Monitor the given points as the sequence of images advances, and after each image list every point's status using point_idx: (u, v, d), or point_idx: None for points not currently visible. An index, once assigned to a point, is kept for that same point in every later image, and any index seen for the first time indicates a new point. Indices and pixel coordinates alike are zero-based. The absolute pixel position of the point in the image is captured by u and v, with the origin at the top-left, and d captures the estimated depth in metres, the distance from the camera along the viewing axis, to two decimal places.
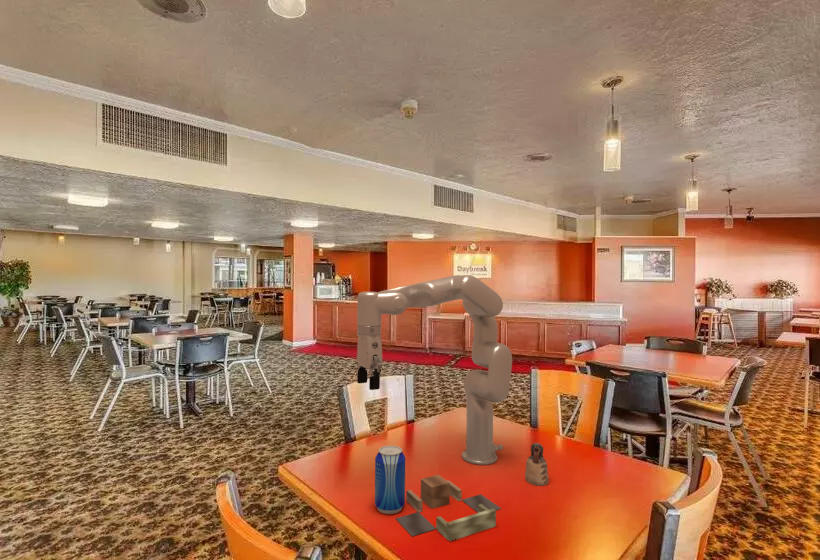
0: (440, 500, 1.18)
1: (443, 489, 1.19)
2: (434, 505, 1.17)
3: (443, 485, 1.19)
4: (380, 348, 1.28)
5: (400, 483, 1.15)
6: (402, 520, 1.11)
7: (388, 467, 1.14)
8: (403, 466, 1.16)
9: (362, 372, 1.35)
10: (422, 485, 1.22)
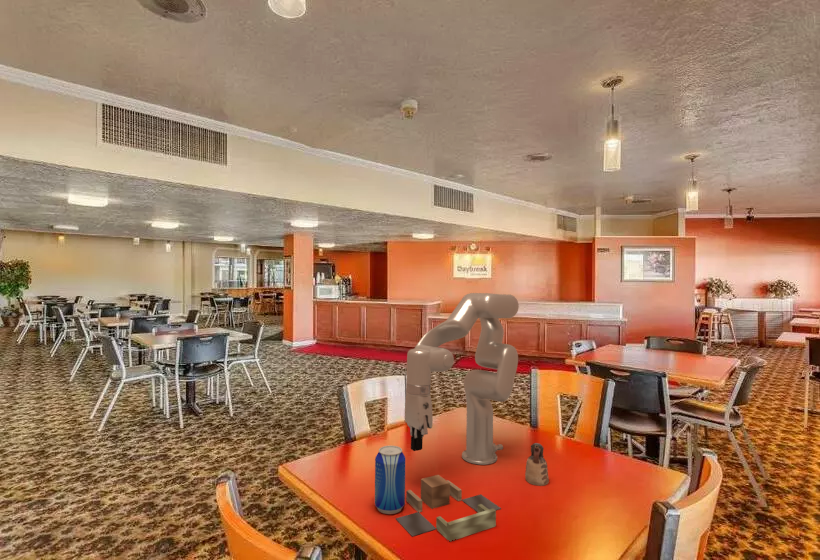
0: (440, 500, 1.18)
1: (443, 489, 1.19)
2: (434, 505, 1.17)
3: (443, 485, 1.19)
4: (430, 408, 1.27)
5: (400, 483, 1.15)
6: (402, 520, 1.11)
7: (388, 467, 1.14)
8: (403, 466, 1.16)
9: None
10: (422, 485, 1.22)
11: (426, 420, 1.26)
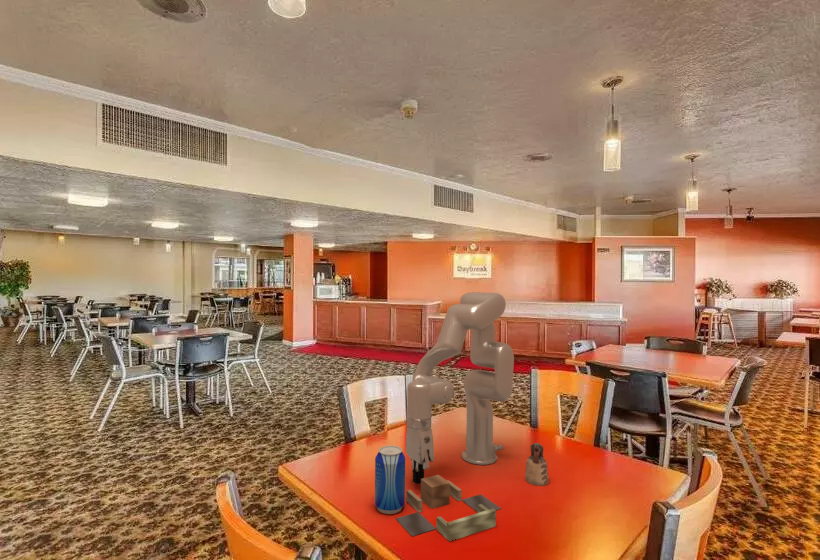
0: (440, 500, 1.18)
1: (443, 489, 1.19)
2: (434, 505, 1.17)
3: (443, 485, 1.19)
4: (432, 442, 1.26)
5: (400, 483, 1.15)
6: (402, 520, 1.11)
7: (388, 467, 1.14)
8: (403, 466, 1.16)
9: None
10: (422, 485, 1.22)
11: (427, 454, 1.26)
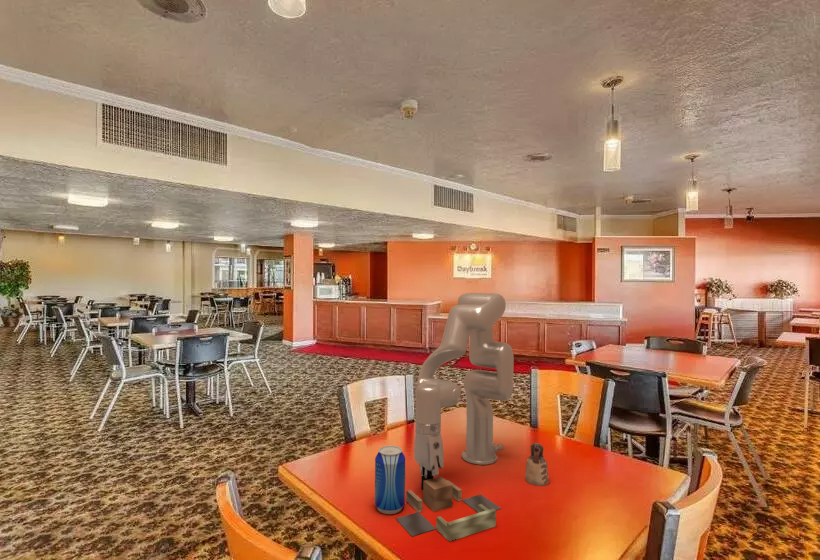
0: (442, 502, 1.17)
1: (446, 491, 1.18)
2: (437, 507, 1.16)
3: (446, 487, 1.18)
4: (441, 448, 1.22)
5: (400, 483, 1.15)
6: (402, 520, 1.11)
7: (388, 467, 1.14)
8: (403, 466, 1.16)
9: None
10: (424, 487, 1.20)
11: (437, 460, 1.21)
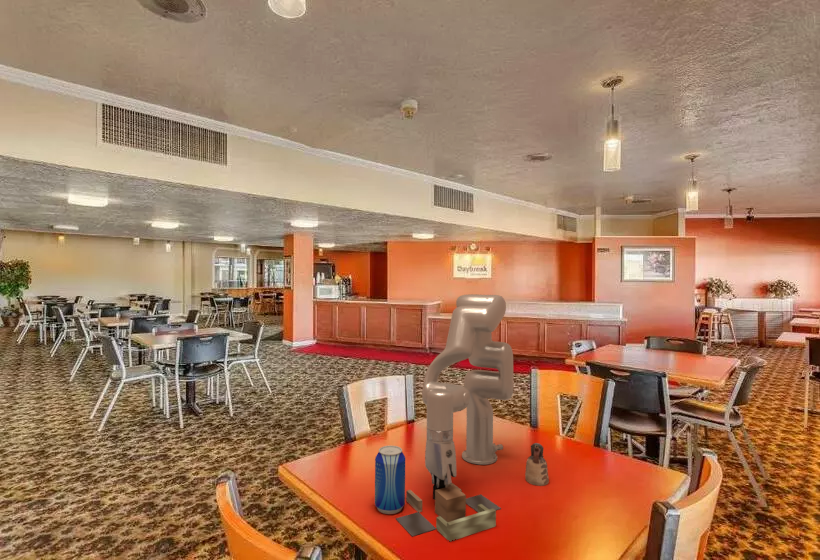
0: (455, 513, 1.11)
1: (459, 501, 1.12)
2: (449, 519, 1.10)
3: (459, 497, 1.12)
4: (454, 456, 1.16)
5: (400, 483, 1.15)
6: (402, 520, 1.11)
7: (388, 467, 1.14)
8: (403, 466, 1.16)
9: None
10: (436, 497, 1.15)
11: (449, 469, 1.16)
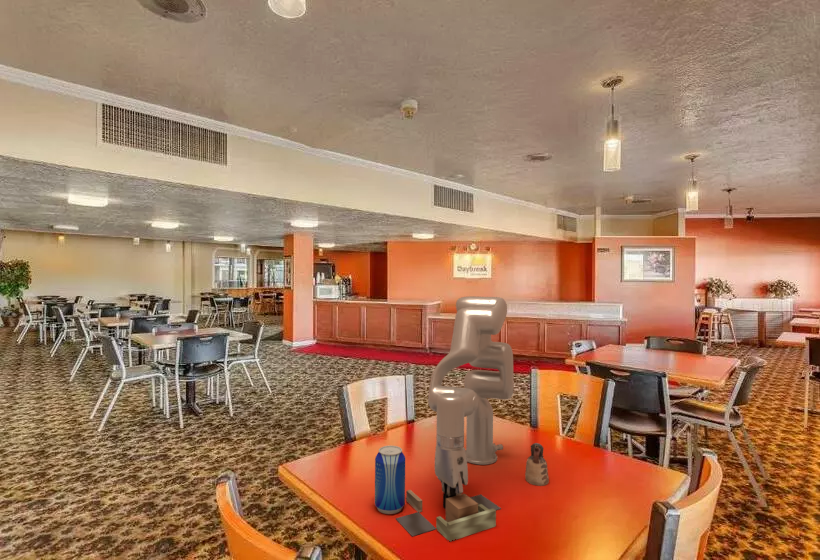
0: None
1: (471, 510, 1.07)
2: None
3: (471, 506, 1.07)
4: (465, 463, 1.12)
5: (400, 483, 1.15)
6: (402, 520, 1.11)
7: (388, 467, 1.14)
8: (403, 466, 1.16)
9: None
10: (447, 506, 1.10)
11: (461, 476, 1.11)
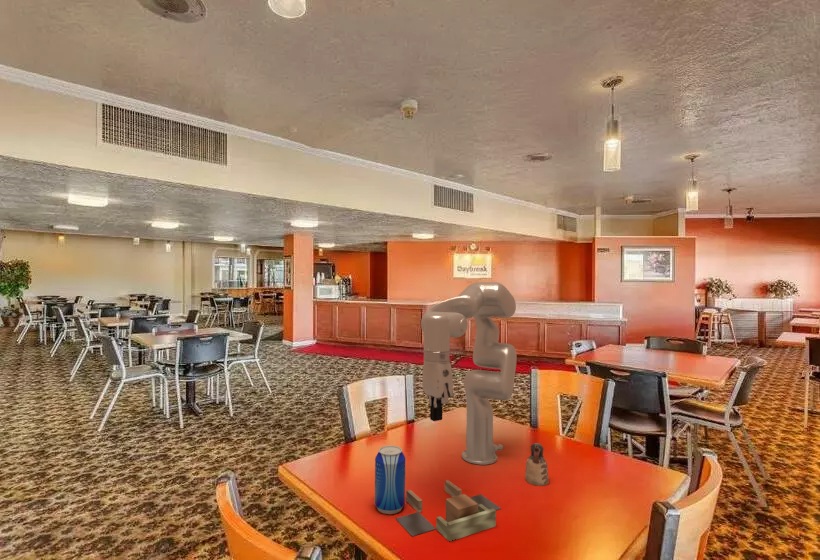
0: None
1: (471, 511, 1.07)
2: None
3: (471, 507, 1.07)
4: (451, 376, 1.19)
5: (400, 483, 1.15)
6: (402, 520, 1.11)
7: (388, 467, 1.14)
8: (403, 466, 1.16)
9: None
10: (447, 506, 1.10)
11: (446, 388, 1.19)
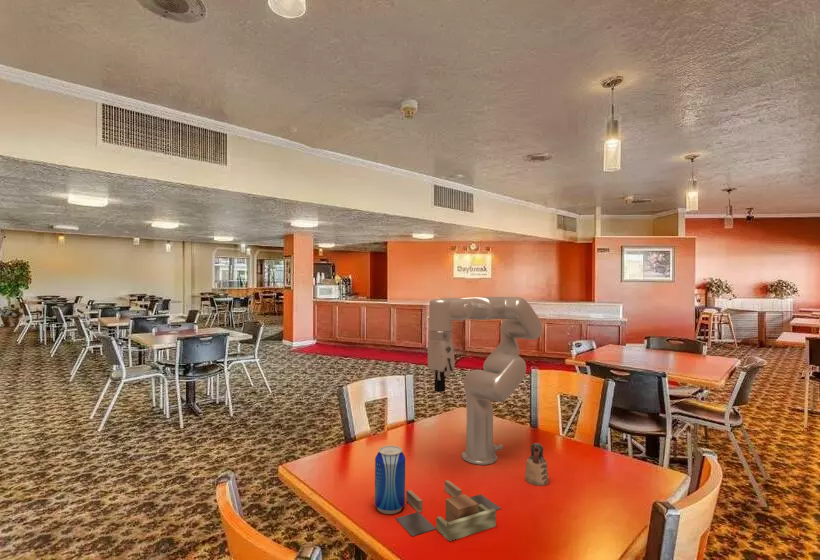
0: None
1: (471, 511, 1.07)
2: None
3: (471, 506, 1.07)
4: (452, 352, 1.37)
5: (400, 483, 1.15)
6: (402, 520, 1.11)
7: (388, 467, 1.14)
8: (403, 466, 1.16)
9: None
10: (447, 506, 1.10)
11: (448, 363, 1.37)
